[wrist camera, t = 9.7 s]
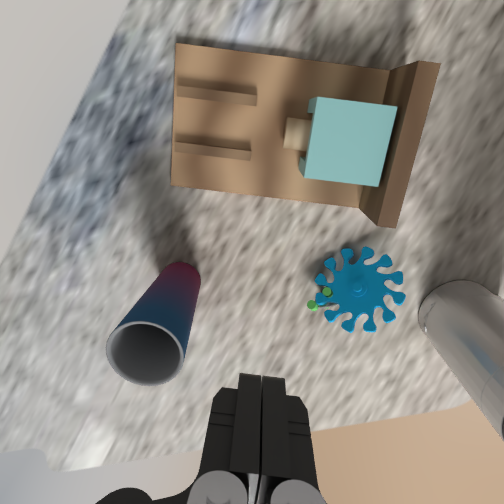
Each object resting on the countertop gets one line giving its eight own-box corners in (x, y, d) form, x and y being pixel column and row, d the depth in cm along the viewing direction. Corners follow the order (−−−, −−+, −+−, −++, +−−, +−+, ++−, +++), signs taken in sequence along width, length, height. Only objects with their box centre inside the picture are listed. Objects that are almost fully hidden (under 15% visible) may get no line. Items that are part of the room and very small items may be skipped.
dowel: (363, 125, 37) (370, 131, 35) (355, 154, 39) (362, 162, 36) (287, 114, 37) (288, 119, 34) (282, 144, 39) (283, 151, 36)
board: (405, 73, 36) (440, 63, 29) (372, 208, 41) (395, 228, 34) (177, 44, 36) (156, 26, 29) (172, 184, 41) (153, 199, 34)
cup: (151, 254, 44) (100, 320, 30) (206, 255, 44) (180, 321, 30) (156, 303, 47) (111, 385, 33) (209, 304, 46) (186, 386, 32)
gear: (388, 233, 41) (419, 319, 37) (390, 250, 46) (418, 328, 42) (295, 261, 44) (314, 343, 40) (307, 274, 49) (325, 348, 45)
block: (377, 107, 37) (397, 106, 31) (362, 176, 39) (378, 186, 34) (309, 99, 36) (317, 96, 31) (298, 168, 39) (304, 177, 34)
